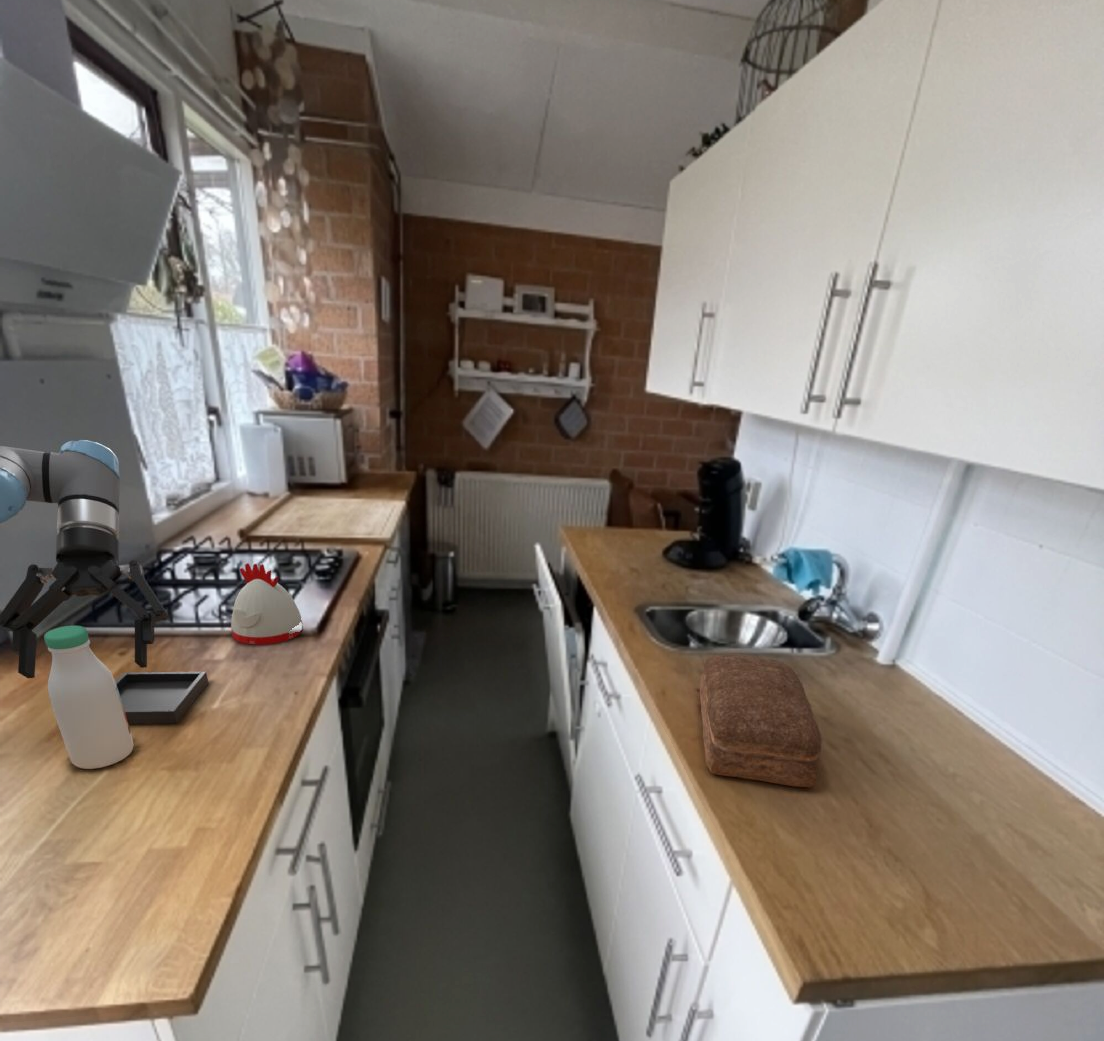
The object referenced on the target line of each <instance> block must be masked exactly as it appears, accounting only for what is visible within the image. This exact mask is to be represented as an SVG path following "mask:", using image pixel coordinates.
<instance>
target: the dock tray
mask: <svg viewBox="0 0 1104 1041" xmlns="http://www.w3.org/2000/svg"><path fill="white" fill-rule="evenodd" d="M114 680H115V682H116V685H117V688H118V691H119V694H120V698H121V701H122V704H123V708H124V711H125V714H126V718H127V721H128V725H158V724H159V725H161V724H163V725H164V724H165V725H167V724H168V725H169V724H178V723H179V721H180V720H181V719H182V717H183V716H184V715H185V714H186V712H187V711H188V710H189V709H190V708H191V706H192V704H193V703H194V702H195V701H196V700H197V698H198V697H199V696H200V694H201V693H202V692H203V691H204V690H205V688H206V686H207V685H208V684H209V678H208V674H207V671H129V672H128V671H127V672H126V671H124V672H123V673H121V674H120V675H119V677H118V678H116V679H114Z"/></svg>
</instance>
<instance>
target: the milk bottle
mask: <svg viewBox="0 0 1104 1041" xmlns="http://www.w3.org/2000/svg"><path fill="white" fill-rule="evenodd" d="M43 639H44V642H45V645H46V647H47V651H48V652H50V653H51V668H50V671H49V675H48V680H47V693H48V698H49V701H50V704H51V708H52V711H53V714H54V717H55V720H56V723H57V726H58V729H59V732H60V735H61V738H62V741H63V744H64V746H65V749H66V752H67V755H68V758H69V760H70V762H71V763H72V765H74V766H75V767H77V768H79V769H86V770H94V769H101V768H105V767H109V766H111V765H115V764H117V763H118V762H120V761H123V760H124V759H125V758H127V757H128V756H130V754H131V753H132V751H133V750H134V739H133V735H132V732H131V728H130V724H128V721H127V718H126V714H125V711H124V708H123V704H122V701H121V698H120V694H119V691H118V688H117V685H116V682H115V680H116V679H115V678H114V675H113V674H112V672H111V671H110V669H109V668H108V667H107V666H106V665H105V664H104V663H103V662H102V660H100V659H99V658H98V657H97V656H96V655H95V652H93V650H92V649H91V647H90V644H91V640H90V638H89V633H88V630H87V628H86V627H85V626H81V625H65V626H59V627H55V628H53V629H50V630H48V631H46V632H45V634H44V635H43Z"/></svg>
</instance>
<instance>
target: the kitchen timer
mask: <svg viewBox="0 0 1104 1041" xmlns="http://www.w3.org/2000/svg"><path fill="white" fill-rule="evenodd" d="M239 572H240V574H241V576H242V577H243V579H244V581H245V583H246V584H245V585H244V586H243V587H242V588H241V589H240V591H239V593H238V594H237V596H236V598H235V601H234V603H233V610H232V614H231V621H230V629H231V634H232V635H231V636H232V637H233V639H234V640H235V641H237V642H239V643H242V644H246V645H254V646H255V645H256V646H260V645H272V644H278V643H282V642H286V641H289V640H291V639H294V638H296V637H297V636H299V635H300V634H301V633H302V632H295V633H293V634H290V635H289V633H288V632H289V631H290V630H292V628H294V627H295V626H297V625H299V623H300V622H301V621H302V622H303V619H302V620H301V618H302V615H301V612H300V610H299V608H298V606H297V604H296V602H295V600H294V598H293V594H291V593H289V592H288V591H287V589H285V588H284V587H283V586H282V585H281V584H279V583H278V582H279V576H276V577H274V578H273V580H272V570H267V571H266V568H265V565H264V564H263V563H262V564H260V565H258V563H254V564H253V565H252V568H251V565H250V563H249V562H247V563H245V564H244V567H241V568H239ZM232 632H233V633H232Z"/></svg>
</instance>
